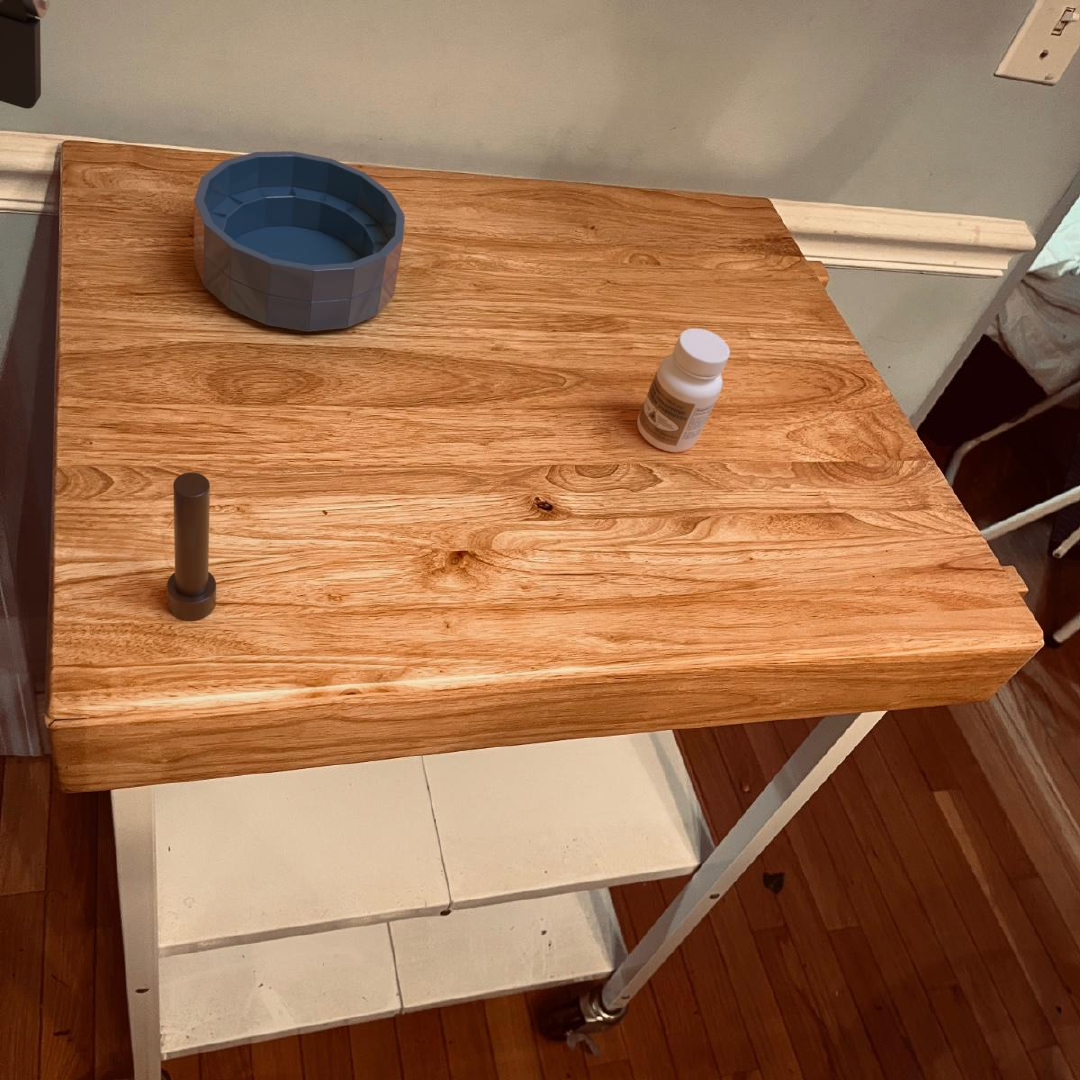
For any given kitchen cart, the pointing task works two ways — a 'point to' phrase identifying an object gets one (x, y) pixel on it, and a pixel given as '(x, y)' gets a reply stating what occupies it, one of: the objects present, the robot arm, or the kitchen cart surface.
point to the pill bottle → (684, 391)
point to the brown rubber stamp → (191, 550)
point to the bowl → (297, 240)
